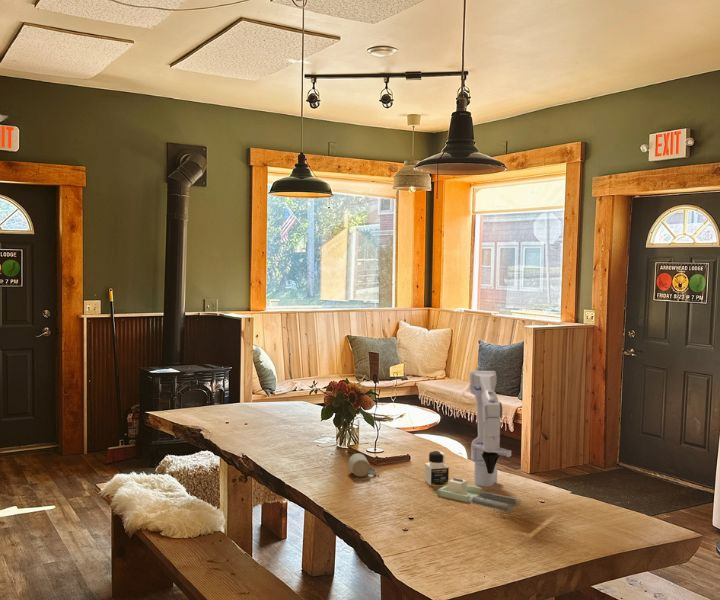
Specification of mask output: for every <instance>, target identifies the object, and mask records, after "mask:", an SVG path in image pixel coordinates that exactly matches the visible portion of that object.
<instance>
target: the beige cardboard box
mask: <svg viewBox="0 0 720 600" xmlns="http://www.w3.org/2000/svg"><path fill="white" fill-rule="evenodd" d="M467 485H468V479H464V478H458V477H453V478H452V479H449V480H448V491H450V492H455V493H459V494H464V495H466V494H467Z"/></svg>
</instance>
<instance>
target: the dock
mask: <svg viewBox="0 0 720 600" xmlns="http://www.w3.org/2000/svg"><path fill="white" fill-rule="evenodd" d="M467 503H468V504H471V505H478V506H481V507H487V508H490V509H494V510H500V511H504V512H509V511H510V510H512V509H513V508H514V507H516V506H517V505H519V504H520V503H521V501H520V500H517V498H516V497H511V496H507V495H501V494H499V493H493V492H489V491H483V490H482V492H481V494H480V495H478V496H477V497H472V500H470V501H468V502H467Z"/></svg>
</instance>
